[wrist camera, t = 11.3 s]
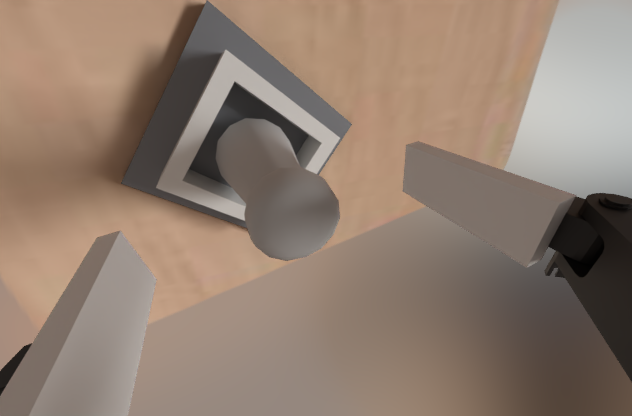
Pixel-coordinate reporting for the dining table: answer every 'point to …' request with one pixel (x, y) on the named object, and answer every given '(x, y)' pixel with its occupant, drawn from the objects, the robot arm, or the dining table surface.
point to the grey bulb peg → (276, 190)
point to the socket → (225, 118)
